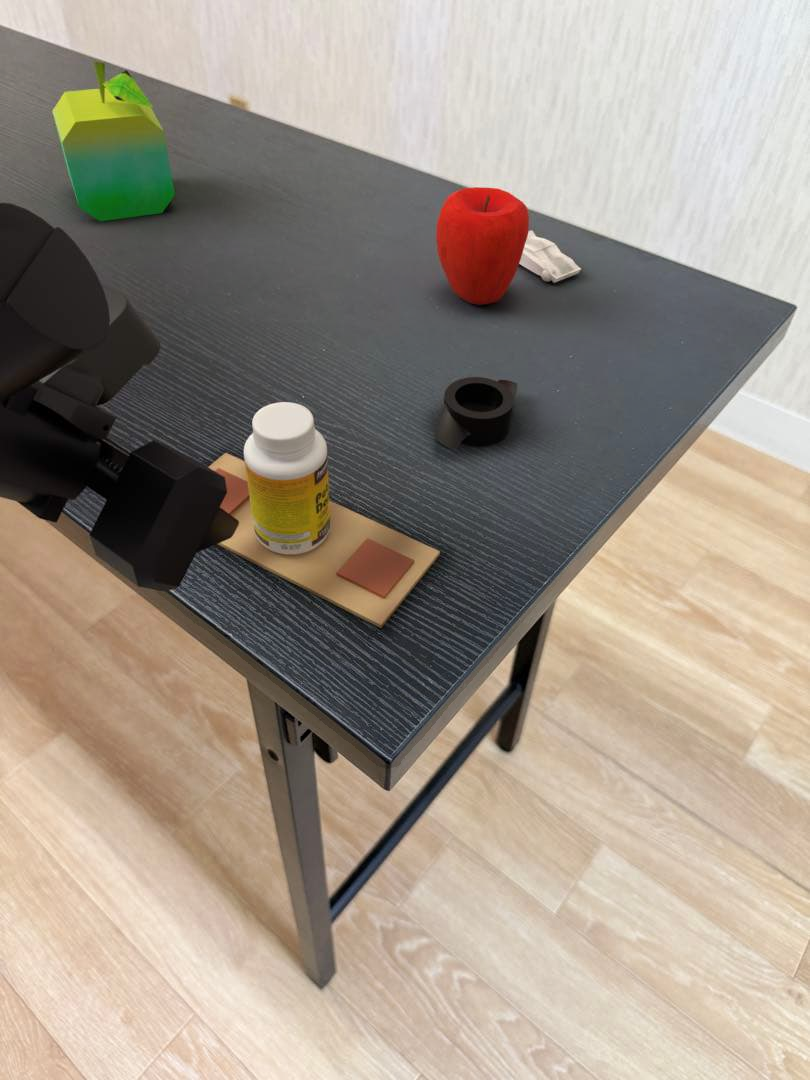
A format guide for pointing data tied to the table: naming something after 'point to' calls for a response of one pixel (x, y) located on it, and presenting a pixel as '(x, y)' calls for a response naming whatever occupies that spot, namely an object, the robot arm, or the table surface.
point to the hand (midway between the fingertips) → (183, 496)
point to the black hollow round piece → (475, 412)
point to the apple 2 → (481, 242)
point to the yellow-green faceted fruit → (114, 149)
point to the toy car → (546, 259)
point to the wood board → (333, 554)
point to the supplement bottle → (288, 479)
